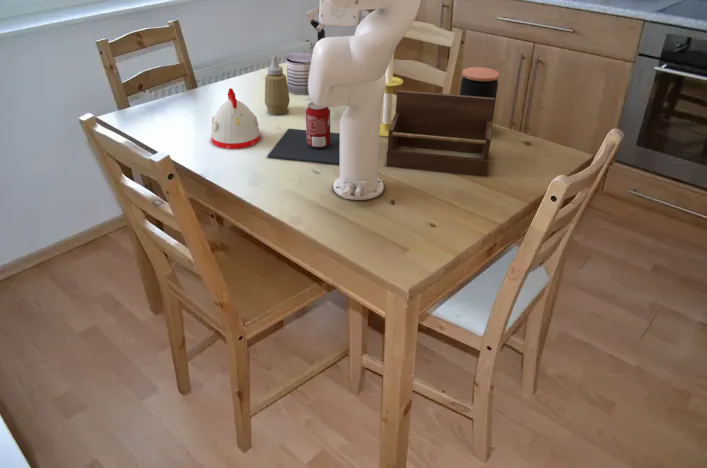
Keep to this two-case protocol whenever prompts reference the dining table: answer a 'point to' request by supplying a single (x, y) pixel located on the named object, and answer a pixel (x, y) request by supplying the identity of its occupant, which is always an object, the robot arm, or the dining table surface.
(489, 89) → the coffee jar
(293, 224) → the dining table surface
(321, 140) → the soda can
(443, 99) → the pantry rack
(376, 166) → the robot arm
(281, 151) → the mat
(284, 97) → the squeeze bottle
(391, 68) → the candle
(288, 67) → the can
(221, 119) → the kitchen timer
